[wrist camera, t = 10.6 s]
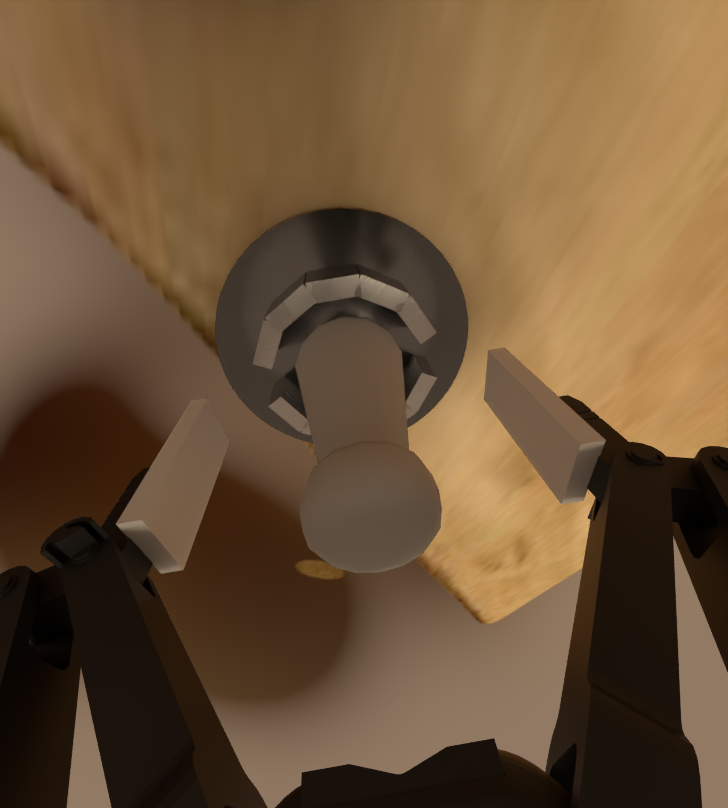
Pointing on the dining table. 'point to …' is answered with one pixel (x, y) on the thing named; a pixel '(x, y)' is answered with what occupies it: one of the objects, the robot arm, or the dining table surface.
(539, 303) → the dining table surface
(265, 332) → the socket
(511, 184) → the dining table surface
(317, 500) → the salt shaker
